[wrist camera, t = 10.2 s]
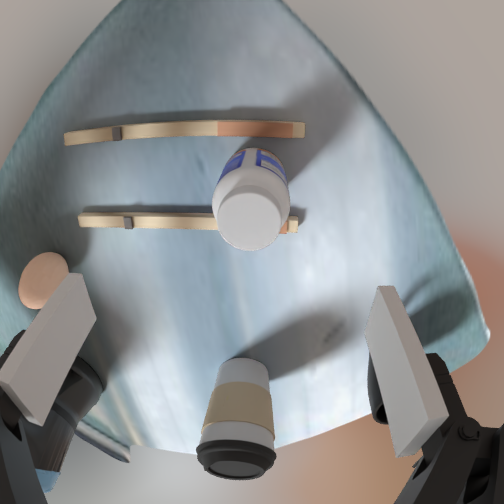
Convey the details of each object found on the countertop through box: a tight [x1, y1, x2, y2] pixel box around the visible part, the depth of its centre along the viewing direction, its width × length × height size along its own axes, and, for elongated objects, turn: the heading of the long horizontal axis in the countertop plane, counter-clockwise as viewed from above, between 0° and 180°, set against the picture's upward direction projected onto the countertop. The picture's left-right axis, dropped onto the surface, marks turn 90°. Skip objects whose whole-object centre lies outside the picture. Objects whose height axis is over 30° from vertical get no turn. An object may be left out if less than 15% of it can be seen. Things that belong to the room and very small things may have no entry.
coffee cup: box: [196, 358, 276, 480], centre depth 35 cm, size 9×9×15 cm
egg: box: [18, 252, 69, 309], centre depth 30 cm, size 5×5×8 cm
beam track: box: [64, 120, 305, 234], centre depth 28 cm, size 22×10×1 cm, turn 89°
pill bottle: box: [212, 148, 290, 251], centre depth 24 cm, size 5×5×10 cm
